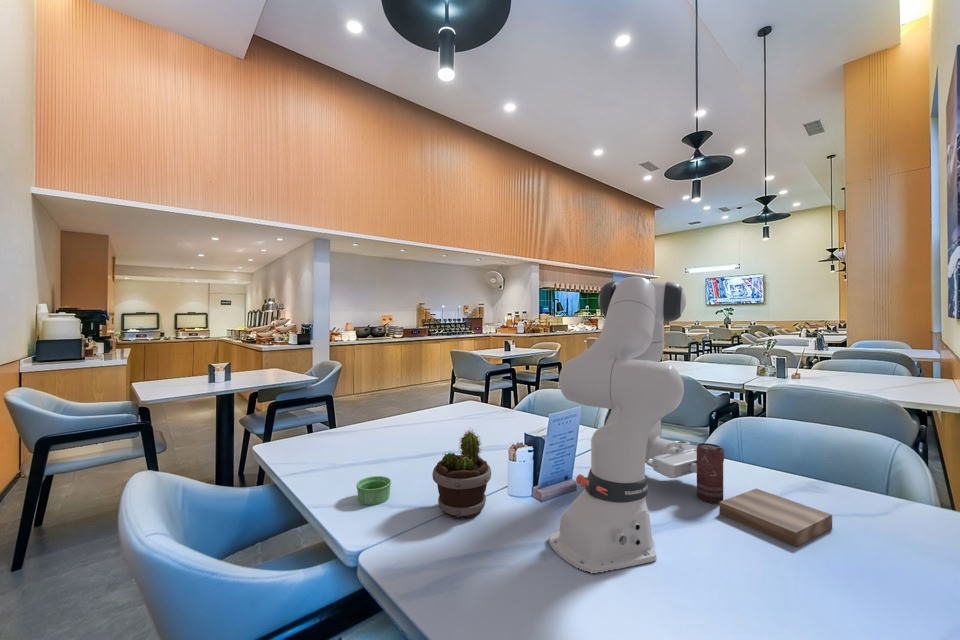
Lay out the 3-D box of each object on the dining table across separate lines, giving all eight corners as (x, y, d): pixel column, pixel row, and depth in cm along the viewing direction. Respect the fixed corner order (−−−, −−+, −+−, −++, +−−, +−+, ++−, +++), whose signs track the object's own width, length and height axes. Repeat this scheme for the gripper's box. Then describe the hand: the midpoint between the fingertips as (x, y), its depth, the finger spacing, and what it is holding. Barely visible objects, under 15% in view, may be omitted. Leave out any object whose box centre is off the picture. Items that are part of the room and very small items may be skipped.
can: (728, 505, 102) (728, 450, 102) (701, 503, 103) (701, 448, 103) (719, 495, 108) (719, 443, 108) (693, 493, 109) (693, 441, 109)
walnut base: (796, 547, 83) (796, 532, 83) (719, 514, 97) (719, 501, 97) (832, 527, 91) (832, 514, 91) (756, 499, 105) (756, 488, 105)
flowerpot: (463, 532, 90) (463, 443, 90) (420, 510, 100) (419, 430, 100) (504, 509, 100) (504, 429, 100) (461, 491, 111) (461, 419, 111)
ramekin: (398, 498, 107) (397, 481, 107) (368, 510, 101) (368, 492, 101) (379, 488, 113) (379, 473, 113) (350, 499, 107) (349, 482, 107)
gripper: (642, 450, 112) (688, 466, 100) (689, 440, 122) (736, 453, 109) (642, 473, 112) (688, 491, 100) (689, 460, 122) (736, 476, 109)
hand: (713, 471), depth 105 cm, fingers closed
